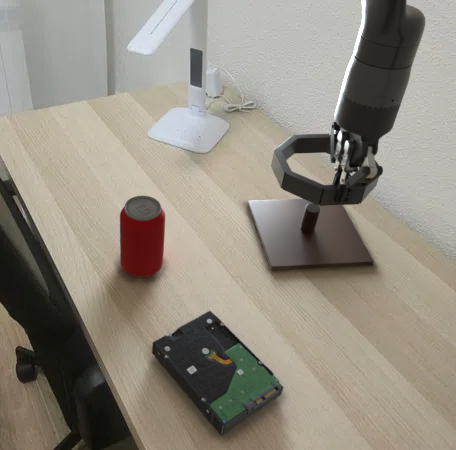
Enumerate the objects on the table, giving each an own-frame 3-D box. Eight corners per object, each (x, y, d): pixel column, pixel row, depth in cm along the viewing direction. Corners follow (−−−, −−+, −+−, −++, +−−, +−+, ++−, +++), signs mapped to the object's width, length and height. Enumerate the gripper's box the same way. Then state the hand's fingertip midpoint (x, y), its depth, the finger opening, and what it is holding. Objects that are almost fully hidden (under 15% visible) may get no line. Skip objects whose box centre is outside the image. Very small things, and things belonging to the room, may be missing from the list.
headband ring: (351, 148, 94) (355, 132, 92) (388, 203, 82) (394, 187, 80) (263, 150, 92) (266, 135, 90) (289, 207, 81) (293, 190, 79)
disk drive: (150, 355, 75) (222, 439, 66) (150, 342, 73) (224, 426, 64) (208, 321, 80) (282, 395, 71) (209, 308, 78) (286, 382, 69)
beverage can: (144, 245, 92) (146, 187, 84) (171, 267, 88) (175, 209, 80) (112, 262, 88) (110, 203, 80) (138, 287, 84) (139, 228, 76)
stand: (336, 200, 102) (344, 176, 99) (372, 265, 90) (382, 240, 86) (247, 203, 101) (251, 179, 97) (270, 270, 88) (276, 244, 84)
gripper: (425, 117, 65) (382, 227, 77) (379, 67, 76) (347, 171, 87) (364, 118, 65) (330, 230, 76) (326, 68, 75) (300, 173, 86)
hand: (339, 198), depth 81 cm, fingers closed on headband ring, 1 cm apart
